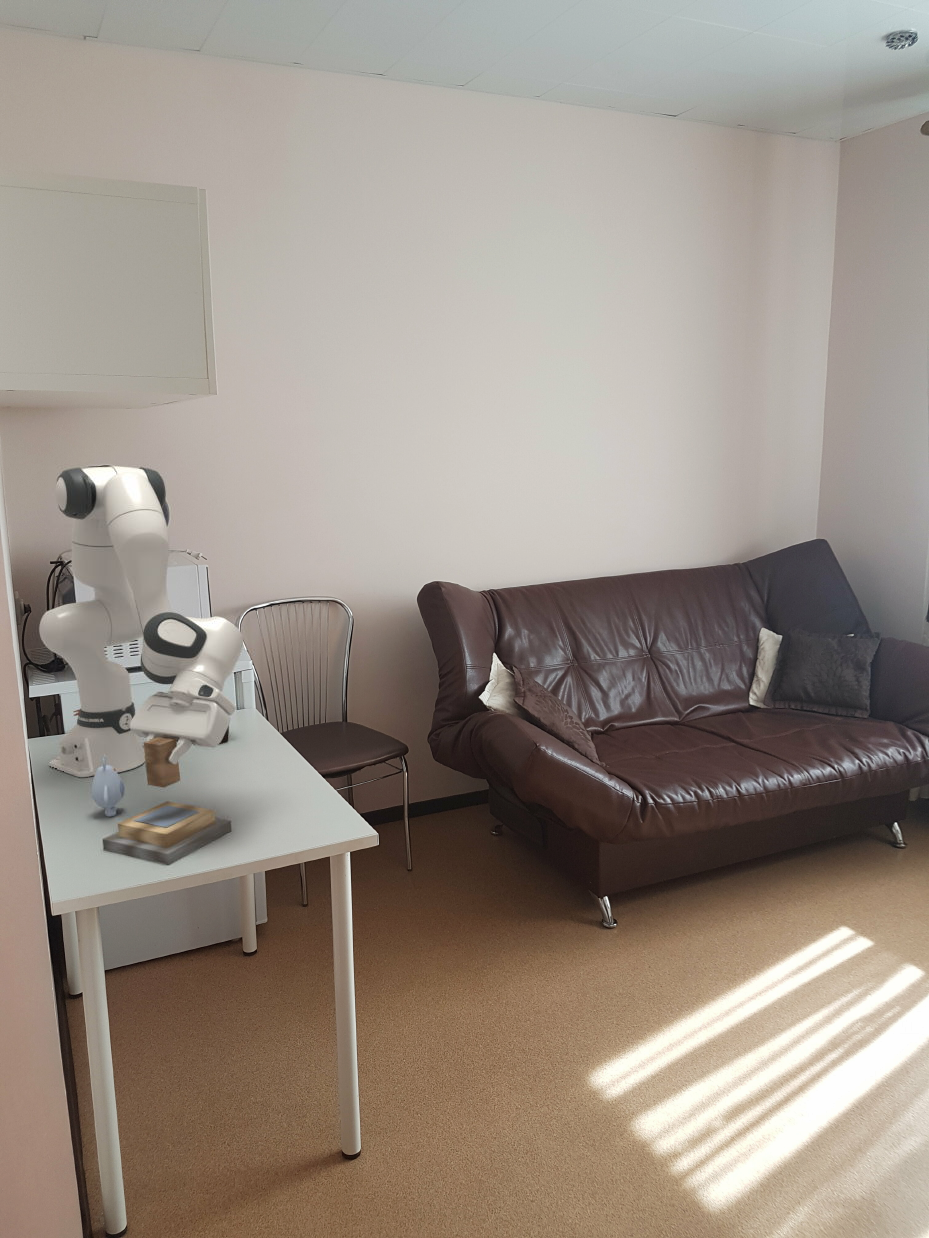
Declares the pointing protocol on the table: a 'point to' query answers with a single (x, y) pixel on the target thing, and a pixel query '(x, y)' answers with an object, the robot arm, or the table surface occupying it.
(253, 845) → the table surface
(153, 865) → the table surface
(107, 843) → the plinth
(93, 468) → the robot arm
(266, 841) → the table surface
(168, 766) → the walnut block
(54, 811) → the table surface
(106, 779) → the toy figure
